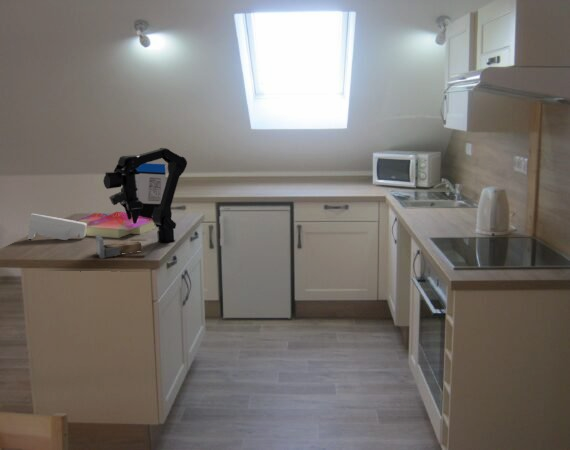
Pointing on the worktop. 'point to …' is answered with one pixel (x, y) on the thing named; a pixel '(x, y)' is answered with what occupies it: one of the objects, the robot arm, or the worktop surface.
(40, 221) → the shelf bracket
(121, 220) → the pink cream flat block
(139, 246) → the rail
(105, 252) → the bracket
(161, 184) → the protein powder
